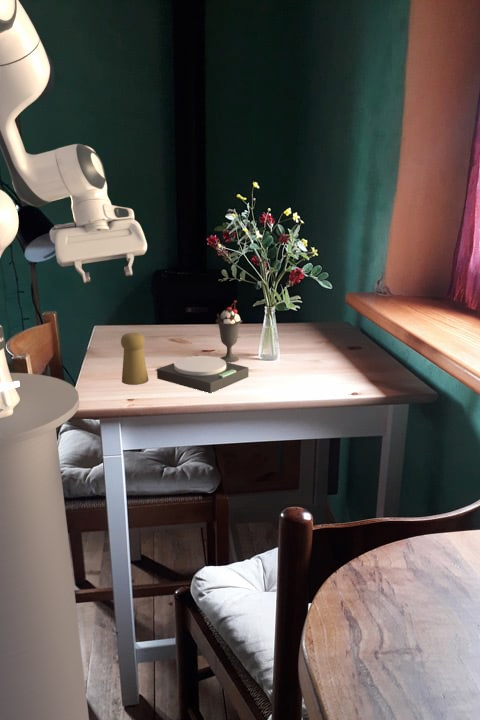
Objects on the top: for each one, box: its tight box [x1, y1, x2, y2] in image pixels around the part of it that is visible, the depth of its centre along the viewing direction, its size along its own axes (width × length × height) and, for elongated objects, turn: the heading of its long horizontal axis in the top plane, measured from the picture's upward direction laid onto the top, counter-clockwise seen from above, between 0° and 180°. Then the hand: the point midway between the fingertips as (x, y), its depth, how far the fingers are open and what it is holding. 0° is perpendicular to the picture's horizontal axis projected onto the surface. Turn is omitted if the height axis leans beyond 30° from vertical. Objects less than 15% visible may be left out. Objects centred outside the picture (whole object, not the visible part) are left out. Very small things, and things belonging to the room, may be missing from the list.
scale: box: [156, 354, 250, 394], centre depth 143 cm, size 14×16×3 cm
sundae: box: [215, 300, 243, 363], centre depth 155 cm, size 7×7×15 cm
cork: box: [120, 332, 150, 386], centre depth 139 cm, size 6×6×11 cm
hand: (108, 278), depth 140 cm, fingers open, 8 cm apart
